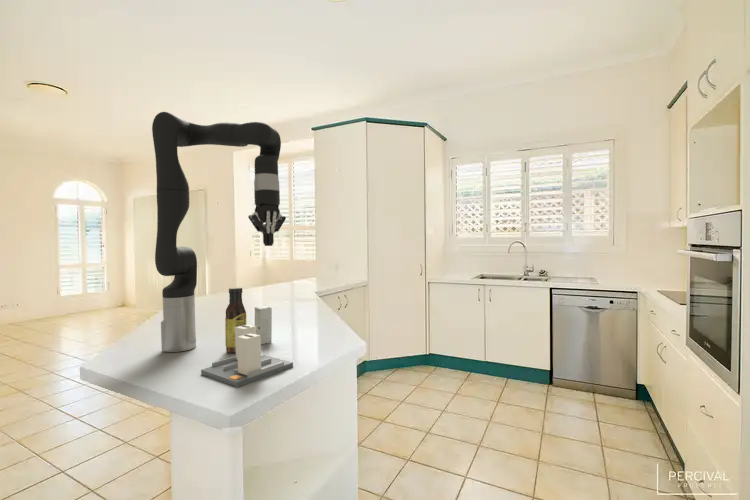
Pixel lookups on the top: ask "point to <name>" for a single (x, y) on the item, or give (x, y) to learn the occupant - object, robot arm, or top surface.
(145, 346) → the top surface
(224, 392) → the top surface
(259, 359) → the tab
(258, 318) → the skincare box
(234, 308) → the sauce bottle
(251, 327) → the tab
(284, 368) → the switch board
